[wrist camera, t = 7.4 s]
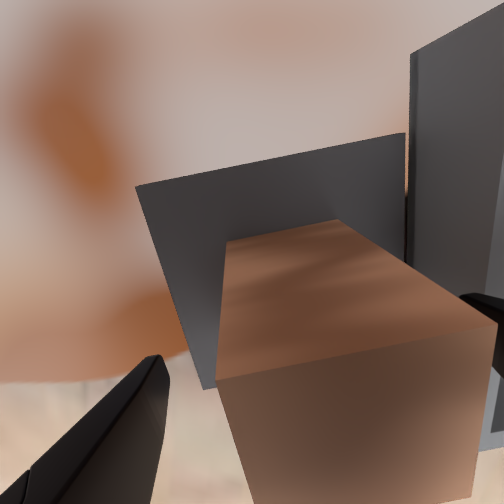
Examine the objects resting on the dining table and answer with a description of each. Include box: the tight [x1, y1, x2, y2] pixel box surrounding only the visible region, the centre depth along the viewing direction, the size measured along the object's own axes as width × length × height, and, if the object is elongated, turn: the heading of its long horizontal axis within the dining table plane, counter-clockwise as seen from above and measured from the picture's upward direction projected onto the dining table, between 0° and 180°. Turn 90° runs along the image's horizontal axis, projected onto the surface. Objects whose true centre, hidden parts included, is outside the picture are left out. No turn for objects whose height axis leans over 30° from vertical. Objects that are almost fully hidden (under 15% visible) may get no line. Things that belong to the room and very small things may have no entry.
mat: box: [135, 133, 405, 390], centre depth 12 cm, size 10×10×1 cm
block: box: [215, 219, 498, 504], centre depth 8 cm, size 4×4×7 cm
